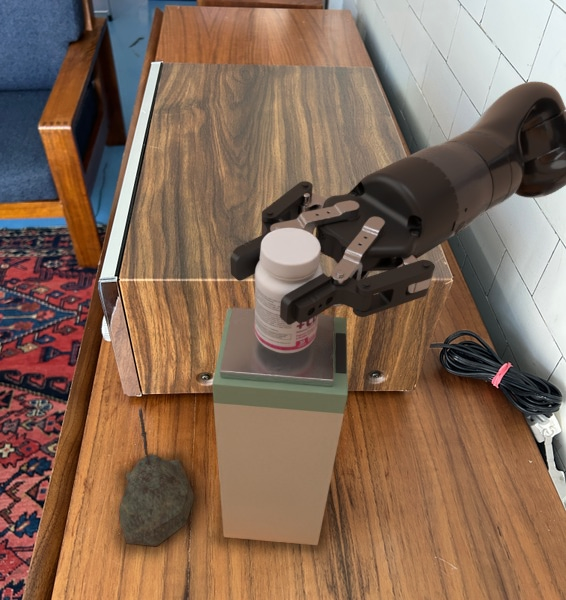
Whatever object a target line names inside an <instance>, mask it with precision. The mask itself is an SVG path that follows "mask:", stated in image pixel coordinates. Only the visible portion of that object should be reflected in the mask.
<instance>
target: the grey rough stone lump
mask: <svg viewBox="0 0 566 600" xmlns="http://www.w3.org/2000/svg"><path fill="white" fill-rule="evenodd" d="M138 415H139V422H140V428H141V433H140V435H141V436H142V441H143V450H144V455H145V456H143V457H142V458H140V459H139V461H138V462H136V464H134V467H133V469H132V471H130V472H127V473H125V475H124V476H125V478H126V480H127V481H126V485H125V489H124V492H123V495H122V497H121V501H120V504H119V519H118V521H119V524H120V528H121V530H122V533H123V536H124V539H125V542H126V543H127V544H132V545H141V546H151V547H157V546H159V545H160V544H162V543H163V542H164V541H166V540H167V539H168V538H170V537H171V536H173V535H174V534H175V533H176V532H178V531H179V530H180V529H182V528H183V527H184V526H185V525H187V522H188V519H189V515H190V513H191V510H192V507H193V503H194V501H195V495H194V492H193V489H192V487H191V483H190V481H189V478H188V476H187V475H188V474H187V473H186V471H185V469H184V468H183V465H182V463H181V461H180V459H165V458H162V457H161V456H159V455H157V454H153V453H149V451H148V439H147V434H148V433H147V431H146V428H145V423H144V413H143V409H142V408H139V409H138Z"/></svg>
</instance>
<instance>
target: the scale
mask: <svg viewBox="0 0 566 600" xmlns="http://www.w3.org/2000/svg"><path fill="white" fill-rule="evenodd" d="M347 322H348V320H347V317H341V316H335V315H334V314H324V313H323V314H322V313H320V314H319V316H318V325H317V332H316V336H315V338H314V340H313V342H312V343H311V344H310V345H309V346H308V347H306V348H305V349H303V350H301V351H298V352H294V353H279V352H275V351H273V350H271V349H268V348H267V347H265V346H264V345H263V344H261V343H260V341H259V340H258V339H257V337H256V334H255V327H254V323H255V308H246V307H237V306H236V307H234V306H233V307H231V308H227V310H226V314H225V319H224V324H223V329H222V335H221V338H220V339H221V340H220V344H219V349H218V354H217V358H216V365H215V369H214V374H213V379H212V385H211V386H212V397H213V399H212V400H213V404H214V403H220V404H232V405H244V406H256V407H268V408H280V409H292V410H304V411H316V412H328V413H340V414H344V415H345V410H346V406H347V401H348V396H349V389H348V388H349V387H348V386H349V385H348V383H349V382H348V379H349V378H348V332H347V331H348V327H347V326H348V323H347Z"/></svg>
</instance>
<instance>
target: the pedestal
mask: <svg viewBox="0 0 566 600" xmlns="http://www.w3.org/2000/svg"><path fill="white" fill-rule="evenodd" d="M213 409H214V410H213V412H214V424H215V439H216V451H217V464H218V465H217V466H218V477H219V493H220V504H221V505H220V506H221V518H222V519H221V520H222V532H223V538H230V539H240V540H241V539H243V540H253V541H265V542H276V543H288V544H299V545H309V546H318V544H319V540H320V535H321V531H322V530H321V529H322V525H323V520H324V516H325V511H326V506H327V501H328V496H329V491H330V487H331V486H330V485H331V480H332V476H333V470H334V465H335V461H336V457H337V456H336V455H337V451H338V445H339V441H340V437H341V431H342V426H343V421H344V415H345V413H344V414H340V413H328V412H316V411H304V410H292V409H280V408H268V407H256V406H244V405H232V404H220V403H214V402H213Z"/></svg>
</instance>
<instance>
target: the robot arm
mask: <svg viewBox="0 0 566 600" xmlns="http://www.w3.org/2000/svg"><path fill="white" fill-rule="evenodd" d="M313 185H314V184H313V183H311V182H310V181H307V180H302V181H299V182H298V183H297V184H295V185H294V186H293V187H291V188H289V190H288V191H286V192H285V193H283V194H282V195H281V196H280V197H278V199H276V200H275V201H273V202H272V203H271V204H269V205H268V206H266V208H264V209H263V210H261V234H260V235H259V236H257V237H255V238H253V239H251V240H249V241H248V242H244V243H243V244H241V245H239V246H236V247H235V249H233V251H232V253H231V255H230V258H229V261H230V262H229V263H230V265H229V266H230V275H231V276H232V277H234V279H236V280H237V281H239V282H241V281H244V280H245V279H247V278H250V277H251V276H253V275H255V269H256V266H257V263H258V262H259V260H260V251H261V242H262V240H263V238H264V237H265V236H266V235H267V234H268V233H270V232H272V231H274V230H277V229H282V228H297V229H302V230H305V231H307V232H309V233H311V234H312V235H314V231H315V235H314V236H315V237H316V238H317V239H318V241H319V243H320V247H321V251H320V256H321V255H323V256H327V257H328V258H331V259H333V260H334V262H336V266H335V267H334V268H333V269H332V270H331V273H330V276H328V275H326V274H325V273H324V272H323V274H321V275H319V276H318V277H316V278H314V279H312V280H311V281H309V282H307V283H305V284H304V285H302V286H300V287H298V288H296V289H295V290H293V291H291V292H289V293H288V294H286V295H285V296H284V297H283V298H282V300H281V305H280V318H281V319H282V320H283V321H284V322H285V323H287V324H288V325H291V324H293V323H294V322H296V321H297V322H298V323H302V322H307V321H308V320H310V319H312V318H313V317H315V316H316V315H317V314H322V313H323V312H325V311H327V310H328V309H329V308H331V307H341V306H347V307H349V308H351V309H352V313H353V315H355V316H357V317H359V318H366V317H369V316H372V315H375V314H378V313H382V312H383V311H387V310H389V309H392V308H395V307H397V306H402V305H404V304H407V303H410V302H413V301H415V300H418V299H422V298H425V297H426V296H427V295H428V292H429V290H430V289H429V288H430V286H431V283H432V280H433V276H434V272H435V269H436V265H435V264H434V262H432V261H431V260H428V259H419V258H420V257H422V256H424V255H425V254H427V253H428V252H430V251H432V250H433V249H435V248H437V247H439V246H440V245H441V244H443V243H445V242H446V241H447V240H449V239H451V238H452V237H454V236H456V235H458V234H460V233H461V232H462V231H464V230H466V229H467V228H468V227H469V226H470V225H472V223H474V222H475V221H476V220H477V219H479V217H481V216H483V215H485V214H486V213H488V212H490V211H491V210H493V209H494V208H496V207H497V206H499V205H502V204H503V203H504V202H506V201H507V200H509V199H510V198H511V197H512V196H513V195H517V196H519V197H522V198H526V199H528V198H529V199H539V198H544V197H547V196H549V195H552V194H553V193H556V192H558V191H559V190H561V189H562V188H564V187H565V186H566V105H565V102H564V100H563V98H562V95H561V94H560V92H559V91H558V90H557V88H555V87H554V86H553V85H551V84H550V83H549V84H548V83H547V82H543V81H527V82H524V83H521V84H518V85H516V86H514V87H512V88H511V89H508V90H507V91H505V92H504V93H503V94H502V95H500V96H499V97H497V99H495V101H493V102H492V103H491V105H489V107H487V108H486V110H485V111H484V112H483V113H482V114H481V115H480V117H479V118H478V119H477V120H476V122H475V123H474V124H473V125H472V126H470V128H469V129H468V130H466V131H464V132H462V133H460V134H458V135H456V136H454V137H452V138H450V139H448V140H446V141H443V142H442V143H439V144H436V145H432V146H428V147H425V148H423V149H420V150H418V151H416V152H414V153H412V154H409V155H408V156H406V157H403V158H401V159H399V160H396V161H394V162H392V163H391V164H388V165H387V166H383V167H381V168H380V169H377V170H376V171H374V172H372V173H369V174H367V175H365V176H364V177H363V178H362V179H360V180H359V182H358V183H357V184H356V185H355V186H354V187H353V188H352V189H351V190H350V191H349V192H348V193H344V194H337V195H331V196H329V197H328V198H326V197H324V196H321V195H319V194H316V193H313V188H314V186H313ZM372 272H379V273H376V274H373V275H370V276H369V274H370V273H372Z"/></svg>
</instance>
